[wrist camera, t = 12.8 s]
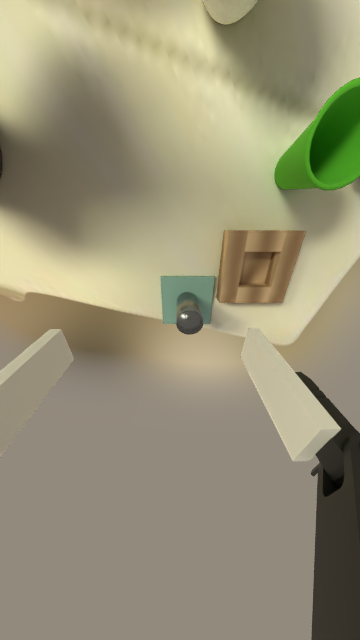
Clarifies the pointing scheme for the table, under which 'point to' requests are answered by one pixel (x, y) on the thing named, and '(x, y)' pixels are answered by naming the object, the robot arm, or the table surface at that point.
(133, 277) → the table surface
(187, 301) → the gray metal can
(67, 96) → the table surface
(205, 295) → the mat
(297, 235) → the socket block
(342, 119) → the cup
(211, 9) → the mug
